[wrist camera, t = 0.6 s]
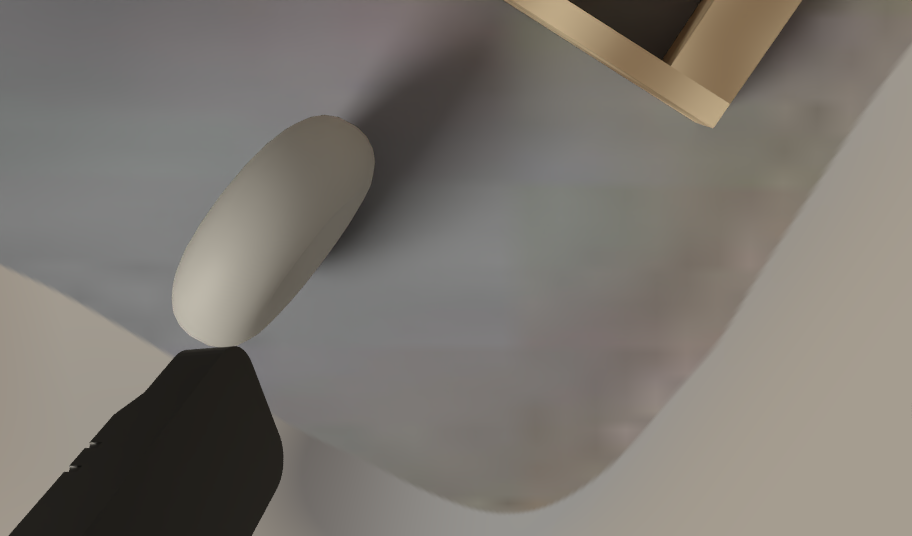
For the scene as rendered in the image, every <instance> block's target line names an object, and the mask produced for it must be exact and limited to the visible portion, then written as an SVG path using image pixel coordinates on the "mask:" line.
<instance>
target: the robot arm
mask: <svg viewBox="0 0 912 536" xmlns="http://www.w3.org/2000/svg"><path fill="white" fill-rule="evenodd" d="M69 467H70V470H69V472H64V473H63V474H62V475H61V476H60V477H59V478H58V479H57V481H56V482H55V483H54V484H53V485H52V487H51V488H50V489H49V490H48V491H47V492H46V493H45V495H44V496H43V497H42V498H41V499H40V500H39V501H38V503H37V504H36V505H35V506H34V507H33V508H32V509H31V511H30V512H29V513H28V514H27V515H26V516H25V517H24V519H23V520H22V521H21V522H20V523H19V524H18V525H17V527H16V528H15V529H14V530H13V531H12V532H11V534H10V535H9V536H252V534H253V532H254V530H255V528H256V527H257V525H258V523H259V521H260V519H261V517H262V515H263V514H264V512H265V510H266V508H267V506H268V504H269V502H270V501H271V499H272V497H273V495H274V493H275V491H276V489H277V487H278V485H279V482H280V480H281V476H282V470H283V447H282V442H281V439H280V435H279V433H278V430H277V428H276V425H275V423H274V420H273V417H272V414H271V412H270V409H269V407H268V404H267V401H266V399H265V396H264V393H263V391H262V388H261V386H260V383H259V380H258V378H257V375H256V372H255V370H254V367H253V365H252V362H251V360H250V358H249V356H248V355H247V353H246V352H245V351H244V350H243V349H241V348H240V347H237V346H230V347H217V348H205V349H192V350H184V351H181V352H180V353H178V354H177V355H176V356H175V357H174V358H173V360H172V361H171V362H170V363H169V364H168V366H167V367H166V368H165V369H164V370H163V371H162V372H161V374H160V375H159V376H158V377H157V378H156V380H155V381H154V382H153V383H152V385H150V387H149V388H148V389H147V390H146V391H145V392H144V393H143V394H142V395H140V396H139V397H138V398H136V399H135V400H134V401H132V402H131V403H130V404H128V405H127V406H125V407H124V408H122V409H121V410H120V411H118V412H117V413H116V414H114V415H113V416H112V417H111V419H110V420H109V421H108V422H107V423H106V424H105V426H104V427H103V428H102V429H101V430H100V431H99V432H98V434H97V435H96V436H95V437H94V438H93V439H92V440H91V442H90V448H85V449H84V450H83V451H82V452H81V453H80V454H79V455H78V457H77V458H76V459H75V460H74V461H73V462H72V463H71V465H70V466H69Z"/></svg>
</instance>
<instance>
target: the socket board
mask: <svg viewBox="0 0 912 536" xmlns="http://www.w3.org/2000/svg"><path fill="white" fill-rule="evenodd" d="M504 1H505V2H507V3H508V4H510V5H512V6H513V7H515V8H516V9H518V10H519V11H521V12H523V13H524V14H526V15H527V16H529V17H530V18H532V19H534V20H535V21H537V22H538V23H540V24H541V25H543V26H545V27H546V28H548V29H549V30H551V31H552V32H554V33H556V34H557V35H559V36H560V37H562V38H563V39H565V40H567V41H568V42H570V43H571V44H573V45H574V46H576V47H578V48H579V49H581V50H582V51H584V52H585V53H587V54H589V55H590V56H592V57H593V58H595V59H596V60H598V61H600V62H601V63H603V64H604V65H606V66H607V67H609V68H611V69H612V70H614V71H615V72H617V73H618V74H620V75H622V76H623V77H625V78H626V79H628V80H629V81H631V82H633V83H634V84H636V85H637V86H639V87H640V88H642V89H644V90H645V91H647V92H648V93H650V94H651V95H653V96H655V97H656V98H658V99H659V100H661V101H662V102H664V103H666V104H667V105H669V106H670V107H672V108H673V109H675V110H677V111H678V112H680V113H681V114H683V115H684V116H686V117H688V118H689V119H691V120H692V121H694V122H696V123H699V124H702V125H705V126H708V127H711V128H714V127H715V125H716V124H717V122H718V121H719V119H720V118H721V116H722V115H723V114H724V112H725V111H726V109H727V108H728V106H729V105H730V103H731V102H732V101H733V99H734V98H735V96H736V95H737V93H738V92H739V90H740V89H741V88H742V86H743V85H744V83H745V82H746V80H747V79H748V77H749V76H750V75H751V73H752V72H753V70H754V69H755V67H756V66H757V64H758V63H759V62H760V60H761V59H762V57H763V56H764V54H765V53H766V51H767V50H768V49H769V47H770V46H771V44H772V43H773V41H774V40H775V38H776V37H777V36H778V34H779V33H780V31H781V30H782V28H783V27H784V25H785V24H786V23H787V21H788V20H789V18H790V17H791V15H792V14H793V13H794V11H795V10H796V8H797V7H798V5H799V4H800V2H801V1H802V0H701V2H700V3H699V5H698V6H697V8H696V9H695V11H694V12H693V14H692V15H691V17H690V18H689V20H688V21H687V23H686V24H685V26H684V28H683V29H682V31H681V32H680V34H679V35H678V37H677V38H676V40H675V41H674V43H673V44H672V46H671V47H670V49H669V50H668V52H667V53H666V55H665V56H664V58H663V59H662V60H660V59H659V58H657V57H656V56H654V55H652V54H651V53H649V52H648V51H646V50H645V49H643V48H641V47H640V46H638V45H637V44H635V43H634V42H632V41H630V40H629V39H627V38H626V37H624V36H623V35H621V34H620V33H618V32H616V31H615V30H613V29H612V28H610V27H609V26H607V25H605V24H604V23H602V22H601V21H599V20H598V19H596V18H594V17H593V16H591V15H590V14H588V13H587V12H585V11H583V10H582V9H580V8H579V7H577V6H576V5H574V4H572V3H571V2H569V1H568V0H504Z"/></svg>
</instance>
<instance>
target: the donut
mask: <svg viewBox="0 0 912 536" xmlns="http://www.w3.org/2000/svg"><path fill="white" fill-rule="evenodd" d="M374 167H375V158H374V152H373V148H372V146H371V144H370V142H369V140H368V138H367V137H366V136H365V134H364V133H363V132H362V131H361V130H360V129H359V128H358V127H356V126H354V125H352V124H350V123H348V122H346V121H345V120H343V119H341V118H339V117H334V116H328V115H321V116H314V117H310V118H308V119H305V120H303V121H301V122H298V123H296V124H294V125H293V126H291V127H289V128H287V129H285V130H284V131H283V132H282V133H280V134H279V135H278V136H276V137H275V138H274V139H273V140H271V141H270V142H269V143H267V144H266V145H265V146H264V147H263V148H262V149H261V150H260V151H259V152H258V153H257V154H256V155H255V156H254V157H253V158H252V159H251V160H250V161H249V162H248V163H247V164H246V165H245V166H244V168H243V169H242V170H241V171H240V172H239V174H238V175H237V176H236V177H235V178H234V180H233V181H232V182H231V183H230V184H229V186H228V187H227V188H226V189H225V190H224V192H223V193H222V194H221V195H220V197H219V198H218V200H217V201H216V202H215V204H214V205H213V207H212V208H211V209H210V211H209V212H208V214H207V215H206V216H205V218H204V219H203V221H202V222H201V224H200V225H199V227H198V229H197V230H196V232H195V234H194V236H193V237H192V239H191V241H190V243H189V244H188V246H187V248H186V249H185V252H184V254H183V256H182V259H181V261H180V264H179V266H178V269H177V271H176V275H175V279H174V282H173V291H172V304H173V312H174V315H175V317H176V319H177V321H178V323H179V325H180V326H181V327H182V328H183V329H184V330H185V331H186V332H187V333H188V334H189V335H190V336H192V337H193V338H195V339H197V340H199V341H201V342H203V343H205V344H207V345H209V346H215V347H230V346H237V345H239V344H241V343H243V342H245V341H247V340H249V339H251V338H252V337H254V336H256V335H257V334H259V333H260V332H261V331H262V330H263V329H264V328H265V327H266V326H267V325H268V324H269V323H270V322H271V321H272V320H273V319H274V318H275V317H276V316H277V315H278V314H279V313H280V312H281V311H282V310H283V309H284V308H285V307H286V306H287V304H288V303H289V302H290V301H291V300H292V299H293V298H294V297H295V295H296V294H297V293H298V292H299V291H300V289H301V288H302V287H303V286H304V285H305V284H306V282H307V281H308V280H309V279H310V277H311V276H312V275H313V273H314V272H315V271H316V270H317V268H318V267H319V266H320V264H321V263H322V262H323V260H324V259H325V258H326V256H327V255H328V254H329V252H330V251H331V250H332V248H333V247H334V245H335V244H336V243H337V241H338V240H339V238H340V237H341V235H342V234H343V232H344V231H345V229H346V228H347V226H348V225H349V223H350V222H351V220H352V218H353V217H354V215H355V213H356V212H357V210H358V208H359V207H360V205H361V203H362V202H363V200H364V198H365V196H366V194H367V192H368V190H369V188H370V186H371V183H372V178H373V172H374Z"/></svg>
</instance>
